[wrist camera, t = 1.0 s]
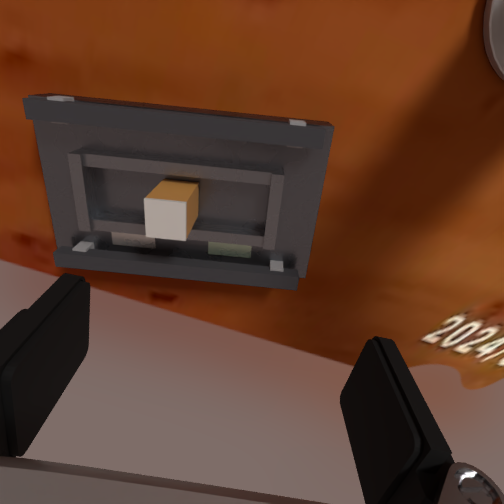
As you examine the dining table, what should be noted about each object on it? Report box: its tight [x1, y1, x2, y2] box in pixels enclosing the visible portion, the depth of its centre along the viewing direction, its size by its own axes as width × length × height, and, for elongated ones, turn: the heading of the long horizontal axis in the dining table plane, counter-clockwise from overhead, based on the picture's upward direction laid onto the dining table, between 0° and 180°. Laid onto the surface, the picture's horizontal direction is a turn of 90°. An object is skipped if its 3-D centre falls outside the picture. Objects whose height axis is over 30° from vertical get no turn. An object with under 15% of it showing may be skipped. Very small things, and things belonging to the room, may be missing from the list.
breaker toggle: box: [144, 179, 199, 241], centre depth 28 cm, size 3×3×5 cm
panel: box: [28, 93, 334, 278], centre depth 31 cm, size 24×14×5 cm, turn 85°
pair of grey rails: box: [22, 96, 326, 290], centre depth 29 cm, size 22×14×2 cm, turn 85°
